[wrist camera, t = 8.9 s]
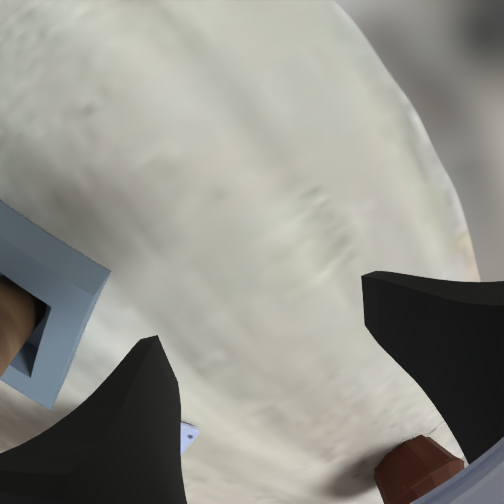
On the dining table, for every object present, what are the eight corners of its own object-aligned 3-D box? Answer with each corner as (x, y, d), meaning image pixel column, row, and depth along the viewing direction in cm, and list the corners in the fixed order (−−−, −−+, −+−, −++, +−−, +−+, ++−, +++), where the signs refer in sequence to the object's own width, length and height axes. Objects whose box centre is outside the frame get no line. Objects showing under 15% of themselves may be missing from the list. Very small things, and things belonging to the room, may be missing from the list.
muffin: (450, 424, 31) (492, 467, 22) (407, 477, 33) (438, 520, 24) (394, 432, 28) (440, 491, 19) (347, 489, 30) (378, 545, 21)
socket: (66, 376, 19) (51, 410, 15) (-31, 311, 16) (-58, 334, 12) (111, 271, 18) (93, 296, 14) (-4, 197, 15) (-38, 206, 11)
